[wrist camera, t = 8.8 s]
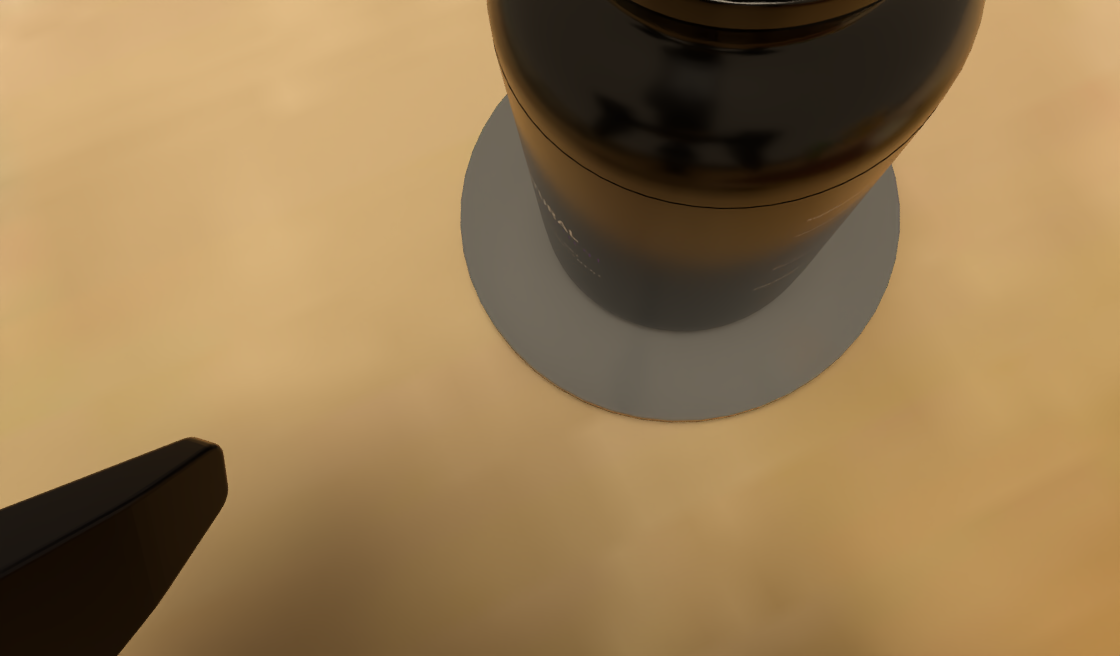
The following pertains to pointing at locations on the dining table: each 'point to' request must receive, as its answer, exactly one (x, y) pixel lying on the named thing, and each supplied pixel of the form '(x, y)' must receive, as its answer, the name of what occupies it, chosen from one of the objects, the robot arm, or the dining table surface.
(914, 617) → the dining table surface
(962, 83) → the dining table surface
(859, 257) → the coaster
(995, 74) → the dining table surface
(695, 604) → the dining table surface
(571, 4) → the supplement bottle
